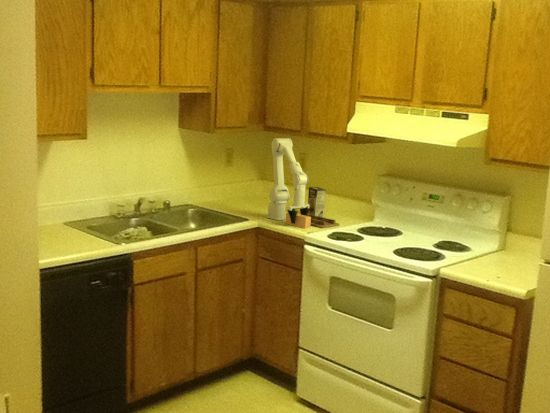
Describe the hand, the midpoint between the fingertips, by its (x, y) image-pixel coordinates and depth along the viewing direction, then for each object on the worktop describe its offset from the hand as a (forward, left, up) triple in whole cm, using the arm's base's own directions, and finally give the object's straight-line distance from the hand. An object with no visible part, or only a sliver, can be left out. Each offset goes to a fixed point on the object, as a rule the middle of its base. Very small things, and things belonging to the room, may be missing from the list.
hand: (297, 222), depth 373 cm
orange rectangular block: (0, 0, -2) cm, 2 cm away
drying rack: (+1, +13, -2) cm, 13 cm away
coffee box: (-12, +28, -2) cm, 31 cm away
